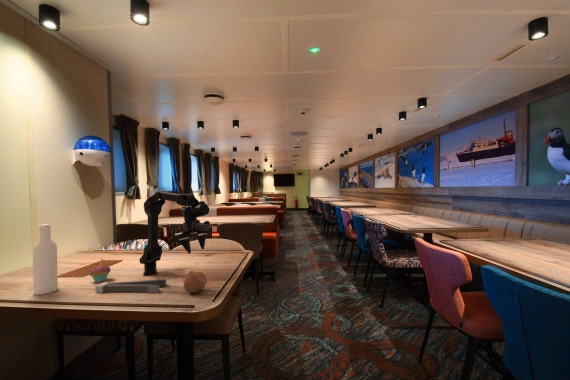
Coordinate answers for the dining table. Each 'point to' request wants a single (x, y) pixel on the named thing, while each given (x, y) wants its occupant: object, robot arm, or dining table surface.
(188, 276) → the tan round lump
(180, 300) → the dining table surface
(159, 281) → the arm
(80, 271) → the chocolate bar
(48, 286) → the bottle
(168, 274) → the dining table surface
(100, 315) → the dining table surface
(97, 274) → the cupcake
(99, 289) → the tongs base
